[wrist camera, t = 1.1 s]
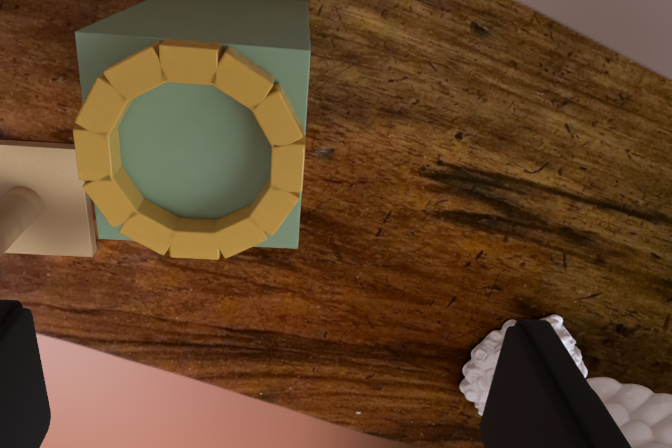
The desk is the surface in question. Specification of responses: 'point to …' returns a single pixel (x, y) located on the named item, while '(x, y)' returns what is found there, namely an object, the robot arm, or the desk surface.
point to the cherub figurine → (620, 399)
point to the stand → (201, 105)
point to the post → (43, 201)
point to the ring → (146, 217)
